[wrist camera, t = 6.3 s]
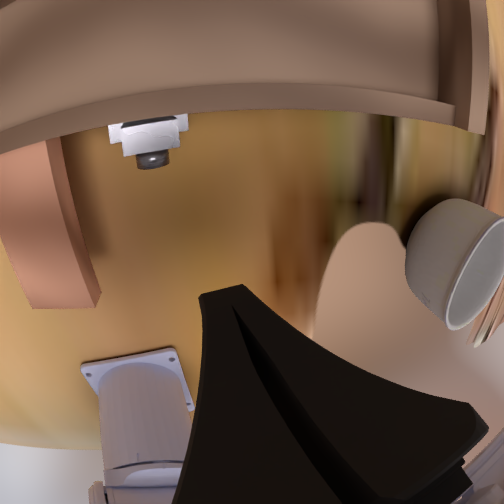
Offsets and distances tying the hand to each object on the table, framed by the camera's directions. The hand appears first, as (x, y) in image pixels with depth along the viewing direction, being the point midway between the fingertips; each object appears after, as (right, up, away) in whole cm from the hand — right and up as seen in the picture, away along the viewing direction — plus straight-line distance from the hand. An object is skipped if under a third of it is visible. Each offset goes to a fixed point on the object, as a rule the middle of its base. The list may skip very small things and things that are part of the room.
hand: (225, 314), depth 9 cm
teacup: (+19, +4, +18) cm, 27 cm away
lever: (-1, +7, +1) cm, 7 cm away
